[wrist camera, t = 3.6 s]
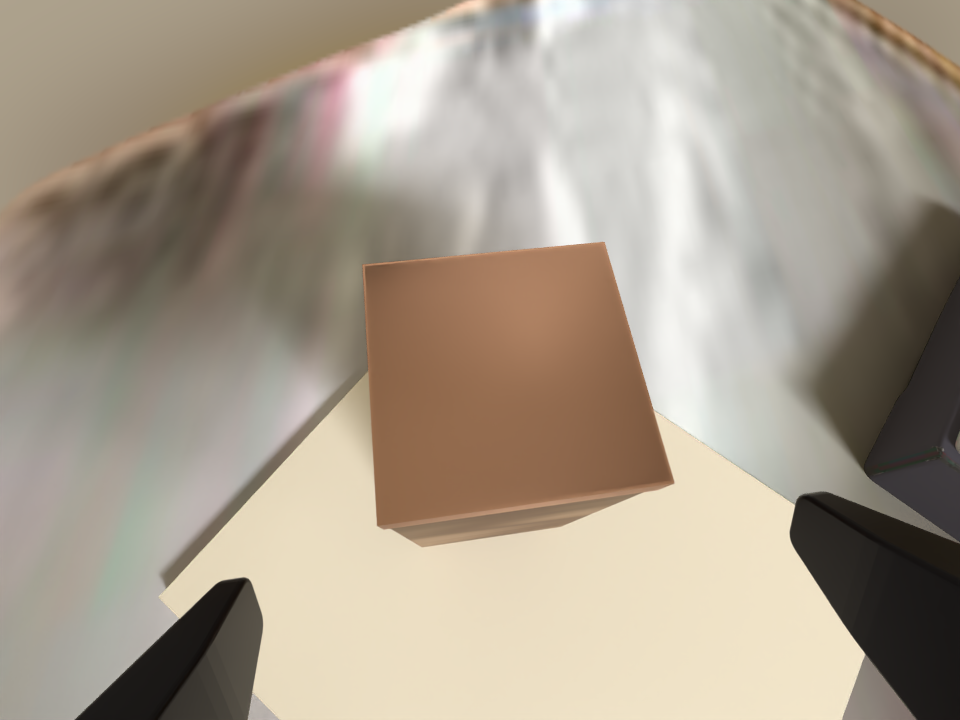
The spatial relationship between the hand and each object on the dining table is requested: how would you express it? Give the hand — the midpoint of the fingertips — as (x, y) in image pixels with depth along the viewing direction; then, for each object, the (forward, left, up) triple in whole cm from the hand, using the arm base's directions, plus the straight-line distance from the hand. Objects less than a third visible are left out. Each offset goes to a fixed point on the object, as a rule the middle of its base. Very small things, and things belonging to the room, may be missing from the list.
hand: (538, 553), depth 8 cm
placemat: (-2, 0, -11) cm, 11 cm away
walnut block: (+2, -2, -10) cm, 11 cm away
